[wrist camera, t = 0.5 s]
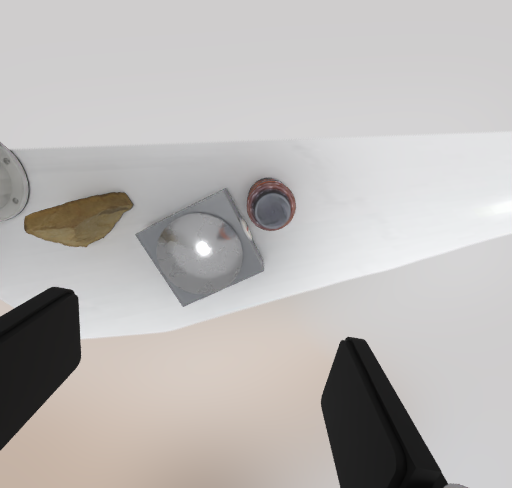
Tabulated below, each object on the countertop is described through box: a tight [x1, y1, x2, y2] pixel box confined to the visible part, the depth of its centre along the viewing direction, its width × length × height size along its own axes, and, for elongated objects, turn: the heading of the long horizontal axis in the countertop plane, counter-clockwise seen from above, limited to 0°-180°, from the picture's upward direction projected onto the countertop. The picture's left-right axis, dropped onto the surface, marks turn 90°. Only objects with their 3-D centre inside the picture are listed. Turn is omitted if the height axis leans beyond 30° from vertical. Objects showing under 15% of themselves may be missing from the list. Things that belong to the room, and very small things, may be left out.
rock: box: [24, 192, 133, 247], centre depth 36 cm, size 11×9×10 cm
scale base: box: [136, 188, 264, 307], centre depth 38 cm, size 14×13×4 cm
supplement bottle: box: [247, 178, 296, 231], centre depth 32 cm, size 6×6×11 cm
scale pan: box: [157, 213, 243, 294], centre depth 35 cm, size 12×12×1 cm
